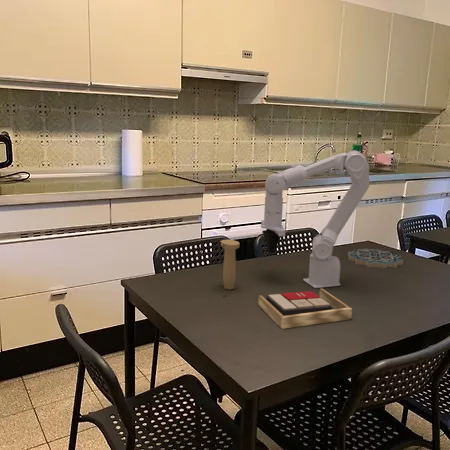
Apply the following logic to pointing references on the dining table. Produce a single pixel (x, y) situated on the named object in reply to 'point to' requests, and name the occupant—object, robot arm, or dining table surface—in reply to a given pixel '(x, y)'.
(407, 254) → the dining table surface
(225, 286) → the handle
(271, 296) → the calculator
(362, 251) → the decorative tile
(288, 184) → the robot arm
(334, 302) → the box
